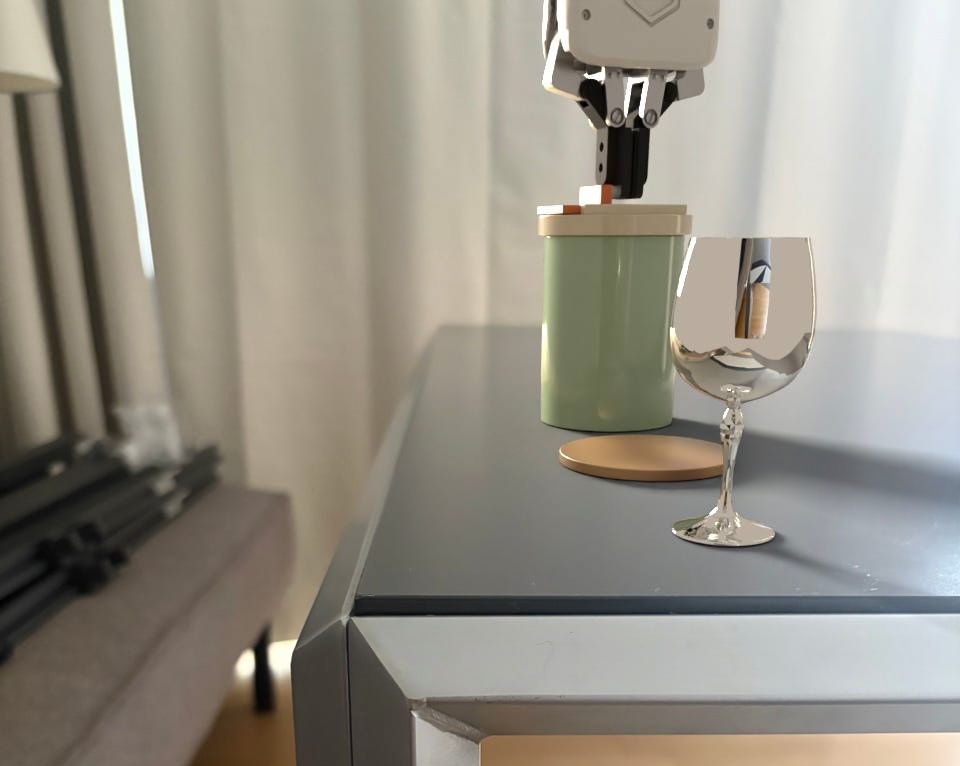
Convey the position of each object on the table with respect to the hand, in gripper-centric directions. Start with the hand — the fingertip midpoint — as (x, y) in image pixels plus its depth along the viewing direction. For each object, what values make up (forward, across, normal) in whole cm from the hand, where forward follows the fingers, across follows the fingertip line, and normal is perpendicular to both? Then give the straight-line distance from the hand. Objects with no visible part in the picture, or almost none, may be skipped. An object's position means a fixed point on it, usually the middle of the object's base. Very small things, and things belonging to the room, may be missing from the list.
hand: (620, 198), depth 64 cm
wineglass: (+14, -8, -27) cm, 32 cm away
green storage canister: (+14, 0, 0) cm, 14 cm away
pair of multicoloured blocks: (+1, -3, 0) cm, 3 cm away
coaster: (+14, -4, -13) cm, 20 cm away
